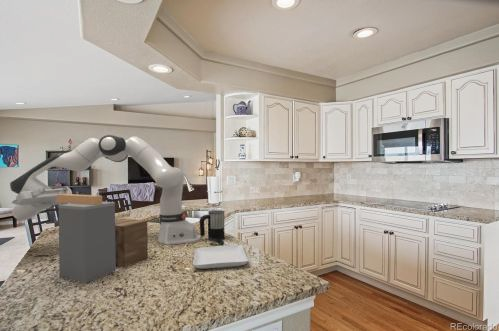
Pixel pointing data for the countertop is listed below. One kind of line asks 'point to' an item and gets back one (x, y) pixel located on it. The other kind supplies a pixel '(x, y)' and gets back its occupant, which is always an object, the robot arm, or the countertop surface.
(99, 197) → the orange bar
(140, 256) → the wooden grain cube
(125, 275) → the countertop surface
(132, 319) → the countertop surface
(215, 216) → the milk frother
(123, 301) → the countertop surface
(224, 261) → the salad plate
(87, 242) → the graphite cabinet
